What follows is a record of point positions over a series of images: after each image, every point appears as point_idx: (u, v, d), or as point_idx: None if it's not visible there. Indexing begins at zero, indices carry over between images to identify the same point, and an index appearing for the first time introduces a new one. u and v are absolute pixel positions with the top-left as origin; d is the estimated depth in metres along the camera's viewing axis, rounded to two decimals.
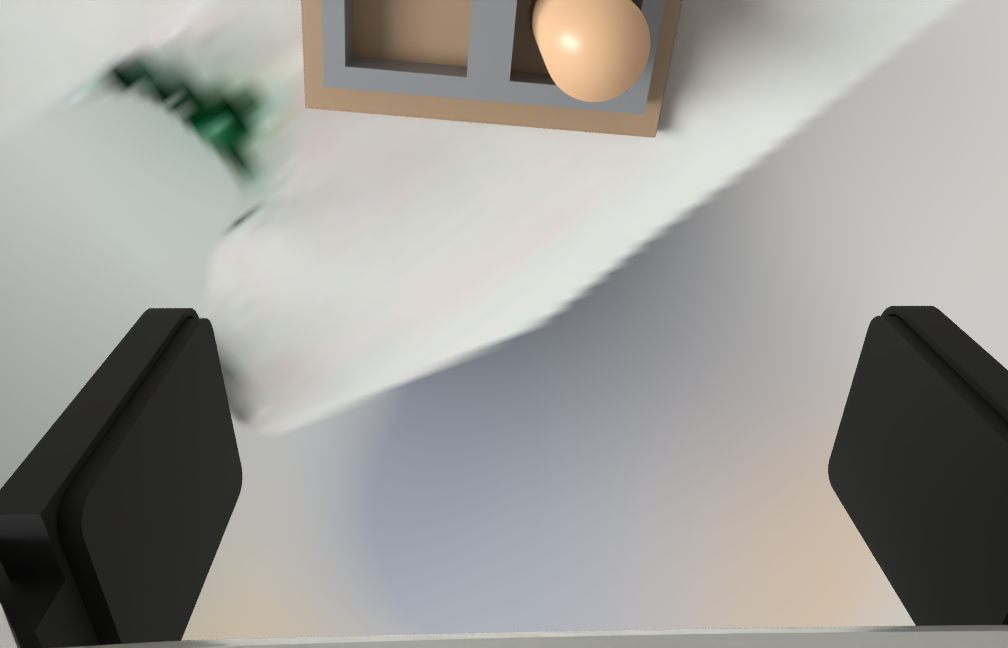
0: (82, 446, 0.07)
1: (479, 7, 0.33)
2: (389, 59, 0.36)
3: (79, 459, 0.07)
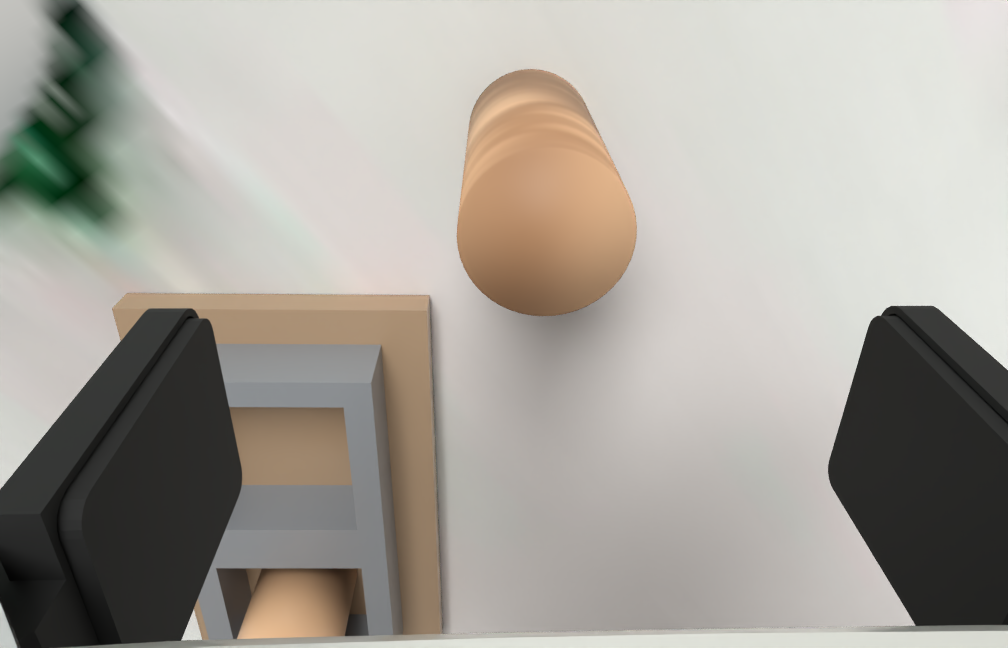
0: (82, 446, 0.07)
1: (290, 537, 0.28)
2: None
3: (78, 459, 0.07)
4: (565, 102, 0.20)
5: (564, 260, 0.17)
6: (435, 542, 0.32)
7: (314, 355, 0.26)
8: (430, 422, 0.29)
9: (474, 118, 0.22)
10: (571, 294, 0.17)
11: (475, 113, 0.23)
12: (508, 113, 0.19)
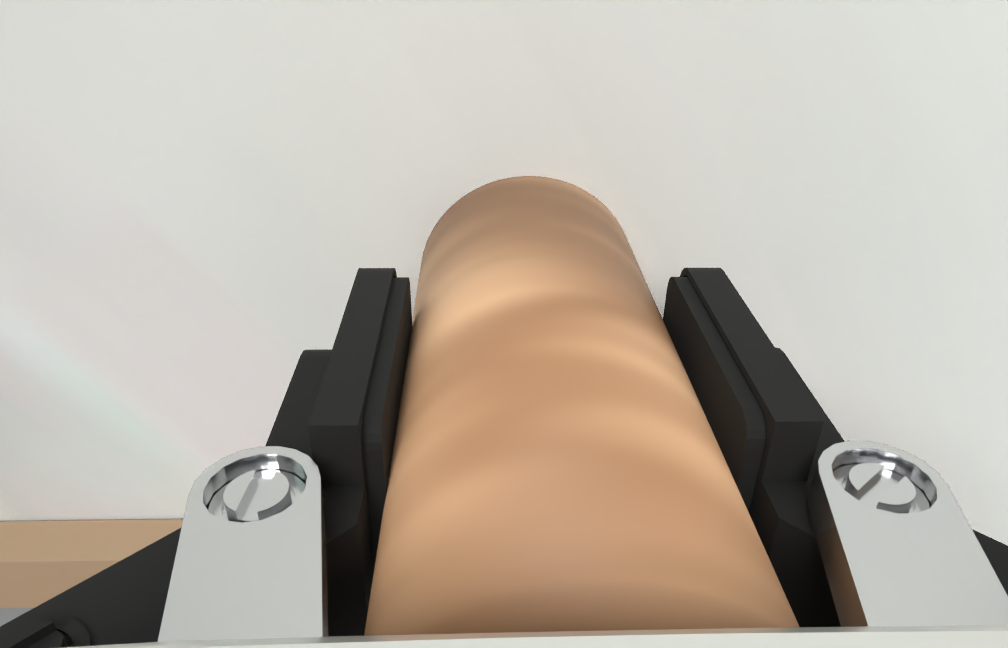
0: (363, 375, 0.08)
1: None
2: None
3: (367, 385, 0.08)
4: (605, 286, 0.10)
5: None
6: None
7: None
8: None
9: (424, 283, 0.12)
10: None
11: (427, 268, 0.12)
12: (486, 333, 0.09)
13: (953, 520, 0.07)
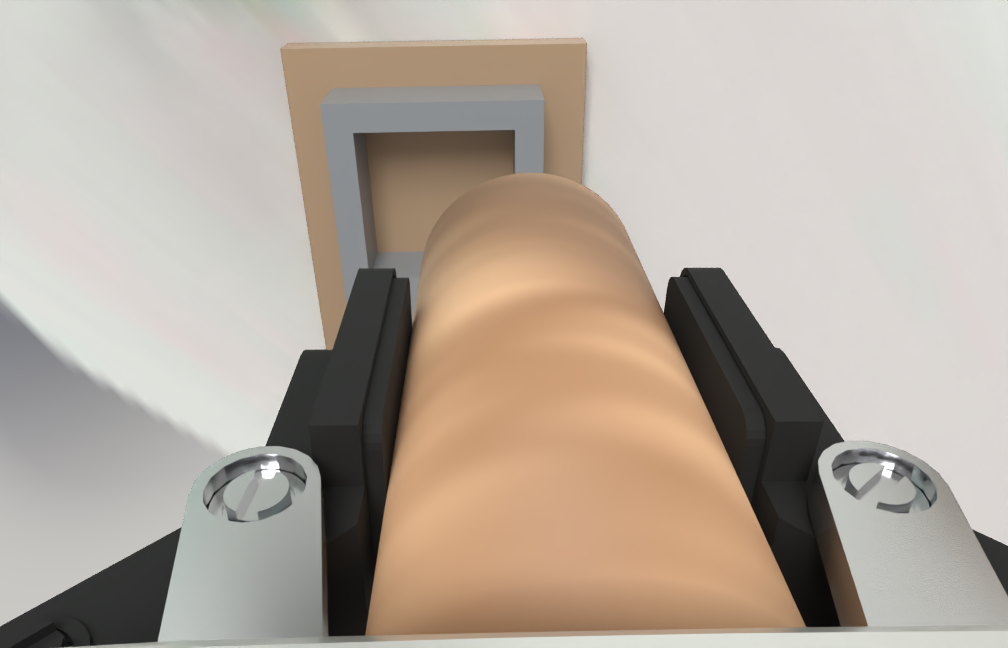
0: (363, 375, 0.08)
1: None
2: (368, 161, 0.29)
3: (367, 385, 0.08)
4: (607, 281, 0.10)
5: None
6: None
7: (478, 90, 0.27)
8: (580, 174, 0.29)
9: (425, 279, 0.12)
10: None
11: (428, 264, 0.12)
12: (488, 328, 0.09)
13: (953, 520, 0.07)
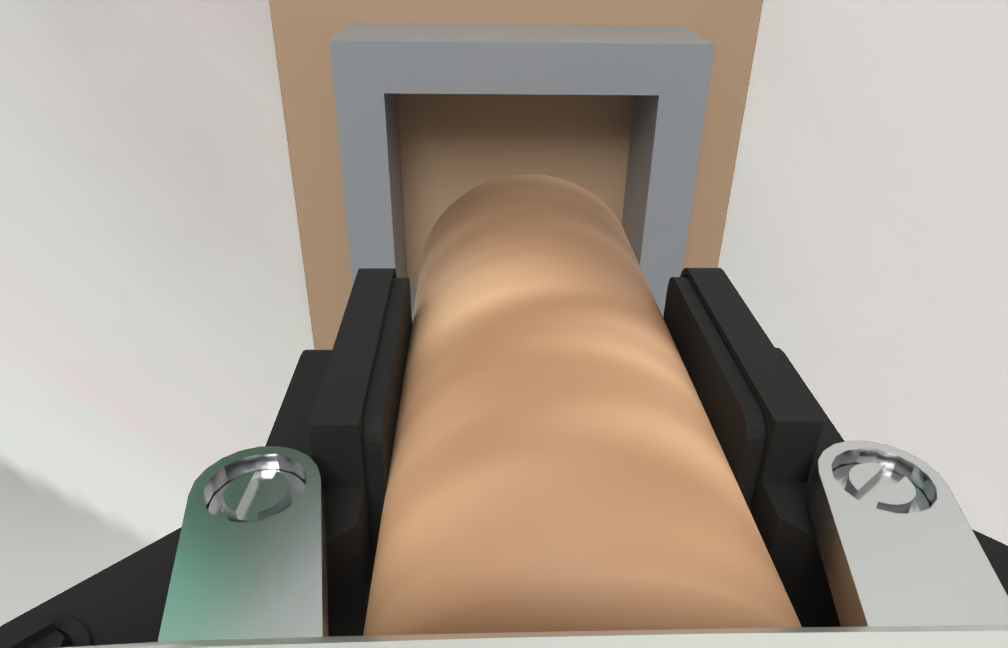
0: (363, 375, 0.08)
1: None
2: (400, 145, 0.18)
3: (367, 385, 0.08)
4: (605, 283, 0.10)
5: None
6: None
7: (591, 30, 0.16)
8: (731, 173, 0.19)
9: (424, 281, 0.12)
10: None
11: (427, 266, 0.12)
12: (486, 330, 0.09)
13: (953, 520, 0.07)
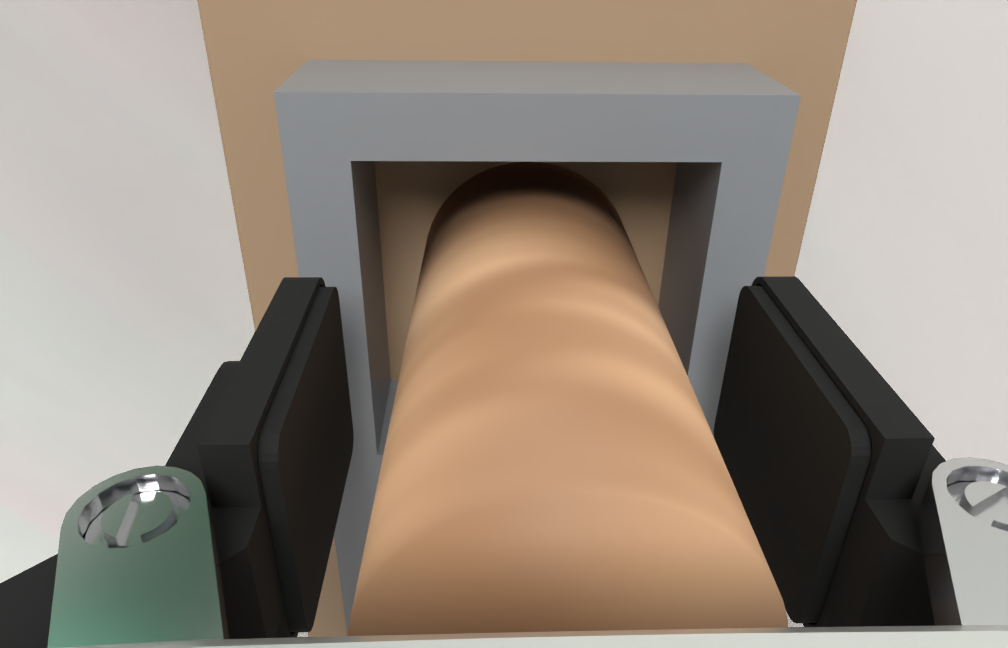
0: (266, 391, 0.08)
1: None
2: (379, 213, 0.14)
3: (267, 402, 0.08)
4: (595, 256, 0.10)
5: None
6: None
7: (627, 71, 0.12)
8: (798, 245, 0.15)
9: (427, 259, 0.12)
10: None
11: (430, 246, 0.13)
12: (481, 295, 0.09)
13: None
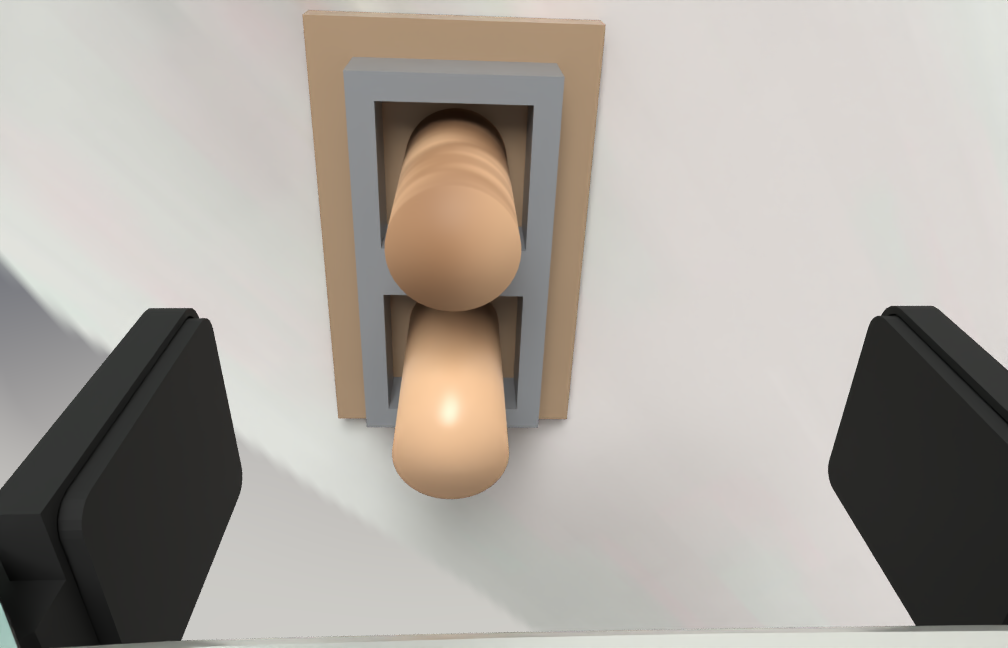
0: (82, 446, 0.07)
1: None
2: (383, 132, 0.29)
3: (79, 459, 0.07)
4: (477, 141, 0.25)
5: (466, 269, 0.22)
6: (578, 294, 0.33)
7: (498, 65, 0.27)
8: (591, 154, 0.30)
9: (407, 149, 0.27)
10: (473, 295, 0.23)
11: (409, 145, 0.28)
12: (429, 151, 0.24)
13: None
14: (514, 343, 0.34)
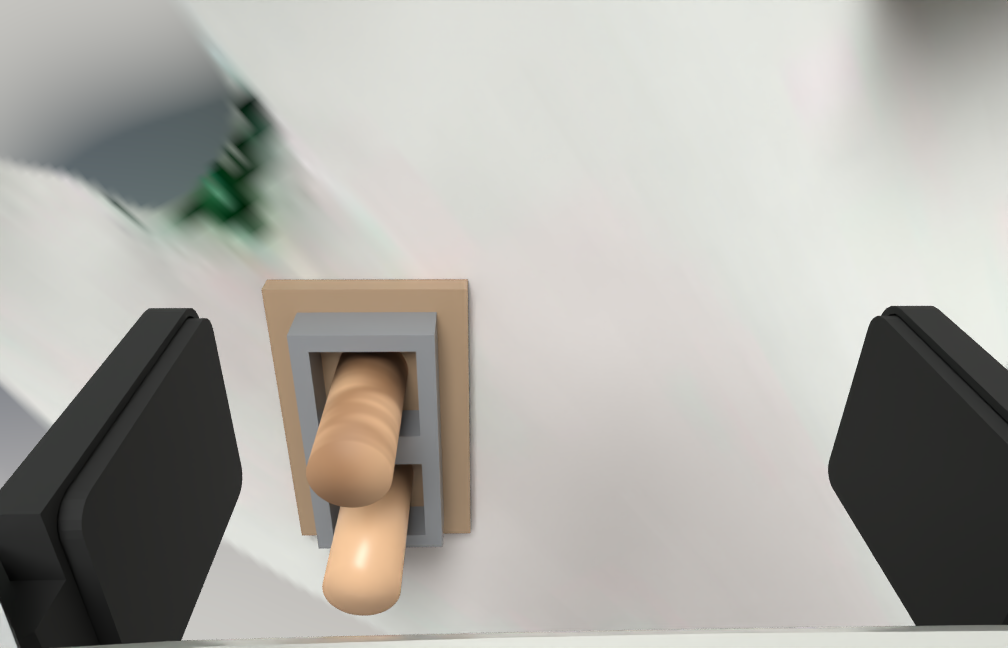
0: (82, 446, 0.07)
1: None
2: (321, 356, 0.42)
3: (80, 459, 0.07)
4: (375, 382, 0.38)
5: (359, 485, 0.35)
6: (468, 451, 0.46)
7: (394, 319, 0.40)
8: (467, 365, 0.43)
9: (334, 376, 0.40)
10: (365, 498, 0.35)
11: (335, 371, 0.41)
12: (341, 396, 0.37)
13: None
14: None
